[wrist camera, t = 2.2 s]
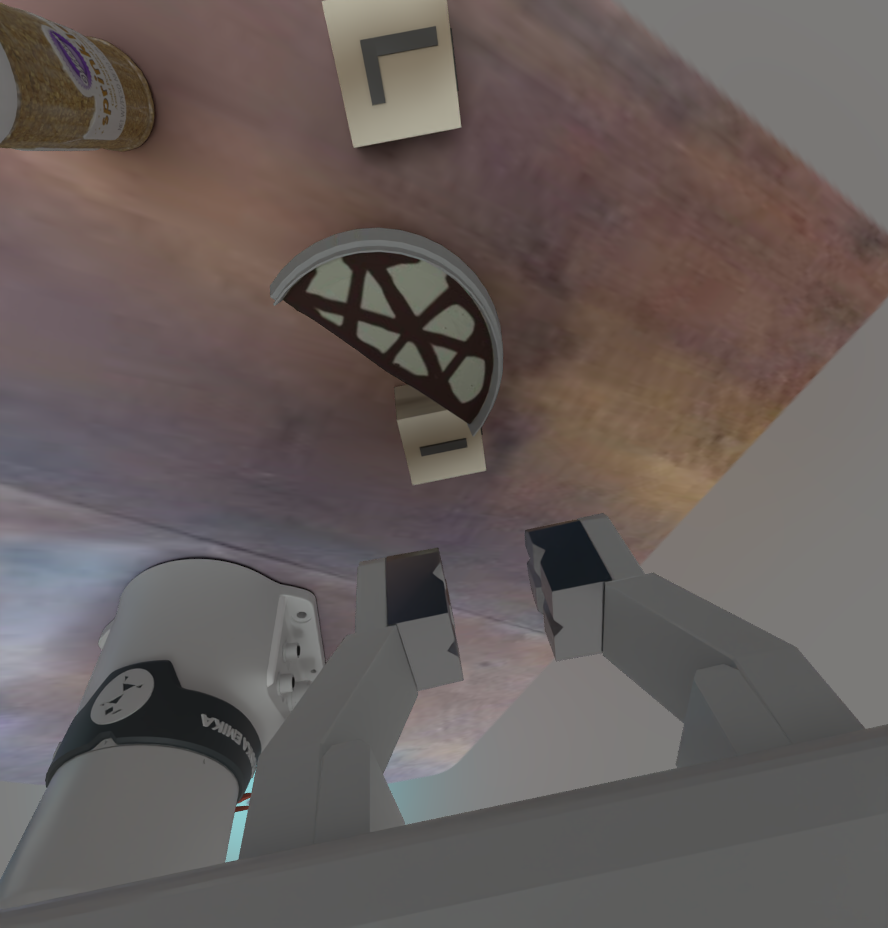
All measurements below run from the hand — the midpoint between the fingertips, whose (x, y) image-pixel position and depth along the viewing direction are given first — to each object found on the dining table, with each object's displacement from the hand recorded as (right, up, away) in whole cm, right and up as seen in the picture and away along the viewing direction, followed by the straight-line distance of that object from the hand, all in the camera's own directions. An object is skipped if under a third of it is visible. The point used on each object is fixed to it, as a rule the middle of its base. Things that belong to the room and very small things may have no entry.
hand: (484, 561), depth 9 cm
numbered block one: (-1, +6, +26) cm, 27 cm away
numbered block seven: (-3, +22, +16) cm, 27 cm away
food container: (-3, +14, +21) cm, 25 cm away
